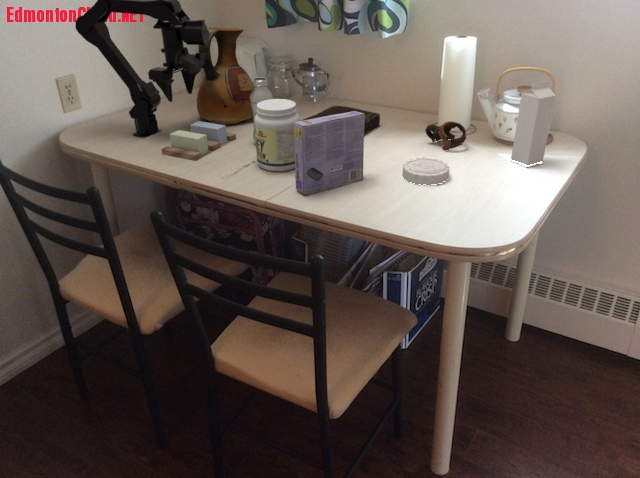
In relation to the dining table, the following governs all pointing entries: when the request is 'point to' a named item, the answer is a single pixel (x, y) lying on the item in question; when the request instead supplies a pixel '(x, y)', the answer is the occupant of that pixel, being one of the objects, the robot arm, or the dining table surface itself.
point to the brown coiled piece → (446, 134)
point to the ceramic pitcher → (224, 81)
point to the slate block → (210, 131)
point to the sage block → (189, 141)
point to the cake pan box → (329, 151)
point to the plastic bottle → (259, 97)
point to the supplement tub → (275, 134)
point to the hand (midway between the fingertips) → (180, 97)
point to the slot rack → (196, 155)
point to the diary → (370, 117)
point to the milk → (533, 124)
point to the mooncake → (425, 171)
